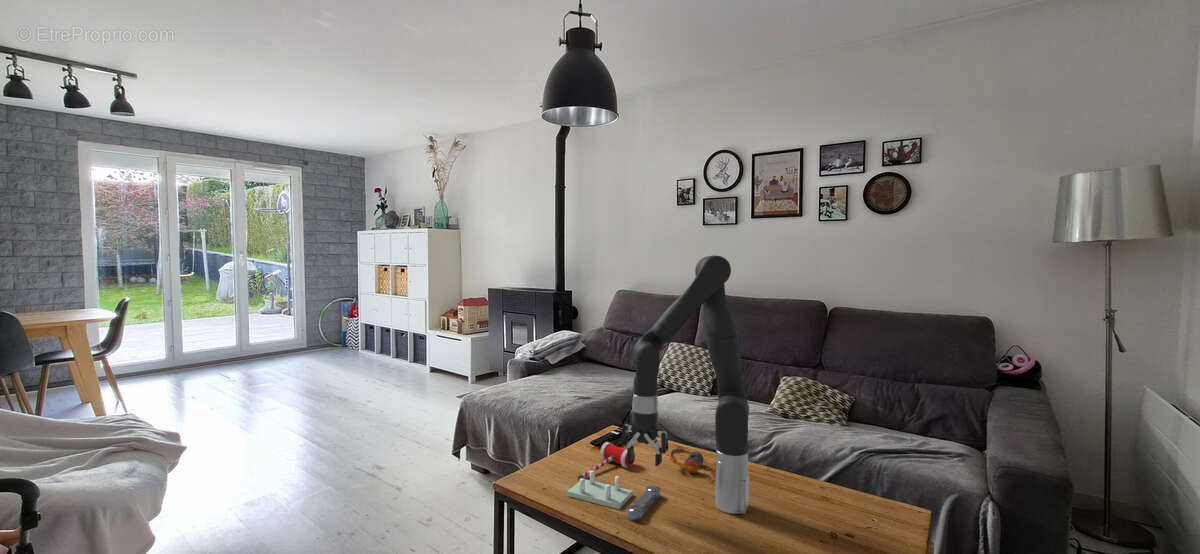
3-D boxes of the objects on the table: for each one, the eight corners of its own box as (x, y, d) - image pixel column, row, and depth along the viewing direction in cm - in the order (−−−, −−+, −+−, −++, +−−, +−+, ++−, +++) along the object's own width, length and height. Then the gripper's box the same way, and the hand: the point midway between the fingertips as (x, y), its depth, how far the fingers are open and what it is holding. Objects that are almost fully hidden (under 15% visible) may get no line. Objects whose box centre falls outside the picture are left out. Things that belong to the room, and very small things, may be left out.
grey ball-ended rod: (649, 492, 162) (649, 484, 162) (662, 495, 160) (662, 487, 160) (624, 519, 146) (624, 510, 146) (639, 523, 144) (639, 514, 144)
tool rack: (632, 495, 160) (632, 477, 160) (619, 509, 152) (619, 491, 151) (582, 483, 169) (582, 466, 169) (567, 496, 160) (566, 478, 160)
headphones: (728, 472, 183) (675, 450, 191) (732, 458, 182) (679, 437, 190) (719, 492, 168) (662, 468, 176) (723, 478, 167) (665, 454, 175)
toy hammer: (592, 487, 167) (592, 467, 166) (567, 476, 175) (567, 458, 174) (635, 465, 184) (635, 447, 183) (610, 456, 192) (610, 439, 191)
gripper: (672, 409, 152) (671, 462, 153) (628, 401, 159) (627, 453, 159) (663, 416, 145) (662, 472, 146) (617, 408, 152) (617, 462, 153)
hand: (644, 462), depth 153 cm, fingers open, 8 cm apart
